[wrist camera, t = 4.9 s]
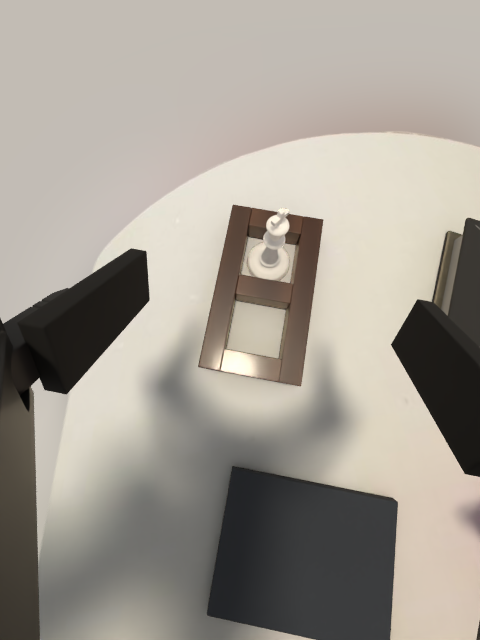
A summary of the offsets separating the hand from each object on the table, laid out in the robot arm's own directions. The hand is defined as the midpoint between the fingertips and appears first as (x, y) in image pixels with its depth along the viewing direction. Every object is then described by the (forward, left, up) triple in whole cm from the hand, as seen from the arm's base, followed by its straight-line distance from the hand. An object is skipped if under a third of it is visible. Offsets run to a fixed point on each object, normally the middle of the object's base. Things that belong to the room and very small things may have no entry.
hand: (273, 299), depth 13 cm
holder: (0, +5, -16) cm, 17 cm away
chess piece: (0, +9, -16) cm, 19 cm away
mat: (+8, -19, -16) cm, 26 cm away
